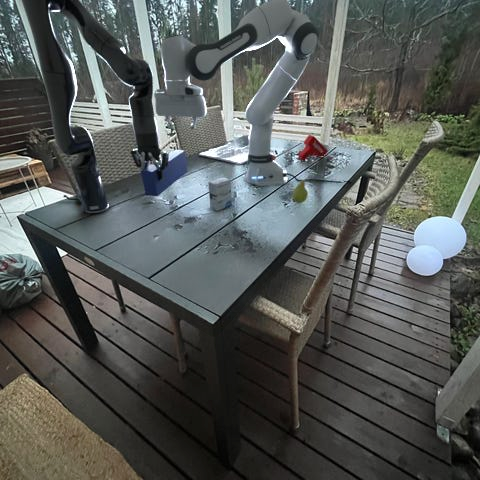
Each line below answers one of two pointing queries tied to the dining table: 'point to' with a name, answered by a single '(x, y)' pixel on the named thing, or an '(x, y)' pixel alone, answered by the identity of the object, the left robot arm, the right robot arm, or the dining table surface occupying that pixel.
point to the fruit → (300, 192)
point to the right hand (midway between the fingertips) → (182, 128)
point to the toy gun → (312, 148)
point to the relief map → (228, 153)
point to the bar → (170, 174)
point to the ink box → (220, 193)
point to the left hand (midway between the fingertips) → (154, 179)
